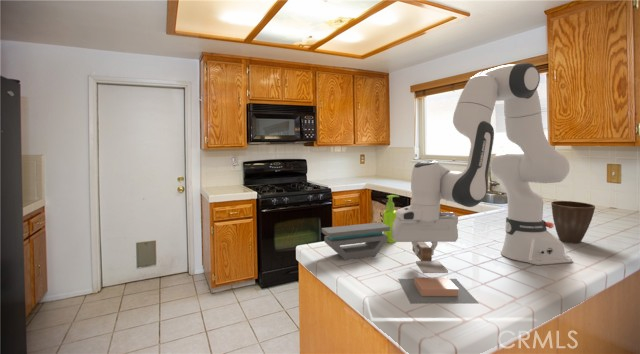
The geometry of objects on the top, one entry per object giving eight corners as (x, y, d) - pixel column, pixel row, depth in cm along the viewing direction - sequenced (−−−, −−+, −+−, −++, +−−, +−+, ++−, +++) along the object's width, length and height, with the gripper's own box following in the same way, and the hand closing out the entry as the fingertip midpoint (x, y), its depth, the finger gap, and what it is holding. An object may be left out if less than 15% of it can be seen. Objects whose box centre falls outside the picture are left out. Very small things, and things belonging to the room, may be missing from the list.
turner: (406, 250, 118) (406, 238, 117) (426, 250, 117) (426, 238, 117) (423, 273, 97) (423, 258, 96) (447, 273, 97) (448, 258, 96)
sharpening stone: (379, 248, 137) (379, 222, 136) (389, 254, 130) (390, 226, 129) (321, 256, 129) (321, 228, 128) (329, 262, 122) (328, 233, 121)
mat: (456, 280, 105) (456, 278, 105) (479, 305, 89) (479, 303, 89) (397, 280, 105) (397, 278, 105) (410, 305, 90) (410, 303, 89)
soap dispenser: (401, 241, 147) (402, 195, 144) (388, 243, 144) (388, 196, 142) (393, 237, 152) (394, 193, 150) (380, 239, 149) (380, 194, 147)
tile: (448, 277, 101) (458, 289, 93) (447, 284, 101) (458, 296, 93) (414, 277, 101) (421, 289, 93) (414, 284, 101) (421, 296, 93)
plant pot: (599, 242, 141) (602, 205, 140) (581, 248, 134) (584, 208, 133) (560, 234, 155) (562, 199, 153) (541, 239, 148) (543, 203, 146)
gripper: (454, 209, 109) (453, 251, 111) (391, 210, 110) (390, 251, 111) (462, 214, 103) (460, 257, 105) (395, 214, 104) (394, 258, 105)
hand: (424, 254), depth 108 cm, fingers closed on turner, 3 cm apart
